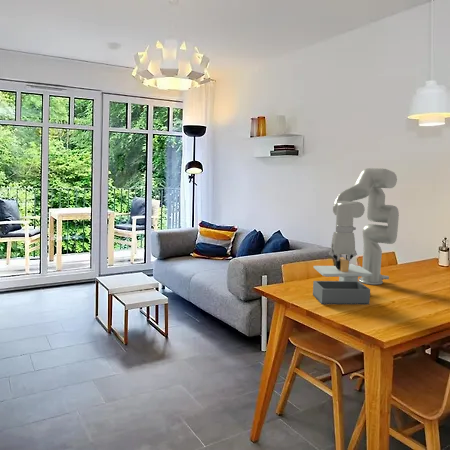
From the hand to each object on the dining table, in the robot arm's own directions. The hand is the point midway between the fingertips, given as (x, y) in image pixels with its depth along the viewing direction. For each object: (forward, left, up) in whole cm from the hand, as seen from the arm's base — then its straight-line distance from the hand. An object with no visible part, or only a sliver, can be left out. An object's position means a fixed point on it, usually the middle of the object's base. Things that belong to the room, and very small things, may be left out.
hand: (342, 268), depth 207 cm
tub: (0, 0, -15) cm, 15 cm away
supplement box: (-10, -18, -15) cm, 25 cm away
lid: (0, 0, -2) cm, 2 cm away
